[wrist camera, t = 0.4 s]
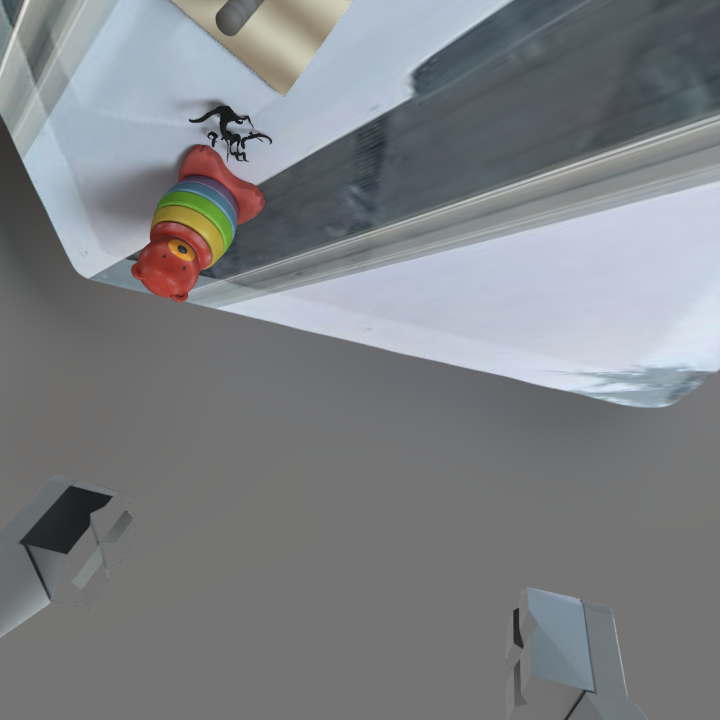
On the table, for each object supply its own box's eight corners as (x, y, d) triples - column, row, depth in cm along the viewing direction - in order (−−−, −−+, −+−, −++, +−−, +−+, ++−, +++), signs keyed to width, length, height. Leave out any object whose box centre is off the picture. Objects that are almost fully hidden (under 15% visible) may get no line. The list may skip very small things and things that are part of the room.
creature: (280, 152, 64) (260, 93, 57) (268, 186, 62) (246, 130, 55) (219, 149, 66) (193, 92, 59) (206, 182, 64) (177, 127, 57)
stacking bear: (272, 198, 69) (220, 298, 58) (231, 236, 75) (178, 331, 65) (200, 136, 64) (130, 232, 53) (163, 182, 70) (94, 276, 60)
